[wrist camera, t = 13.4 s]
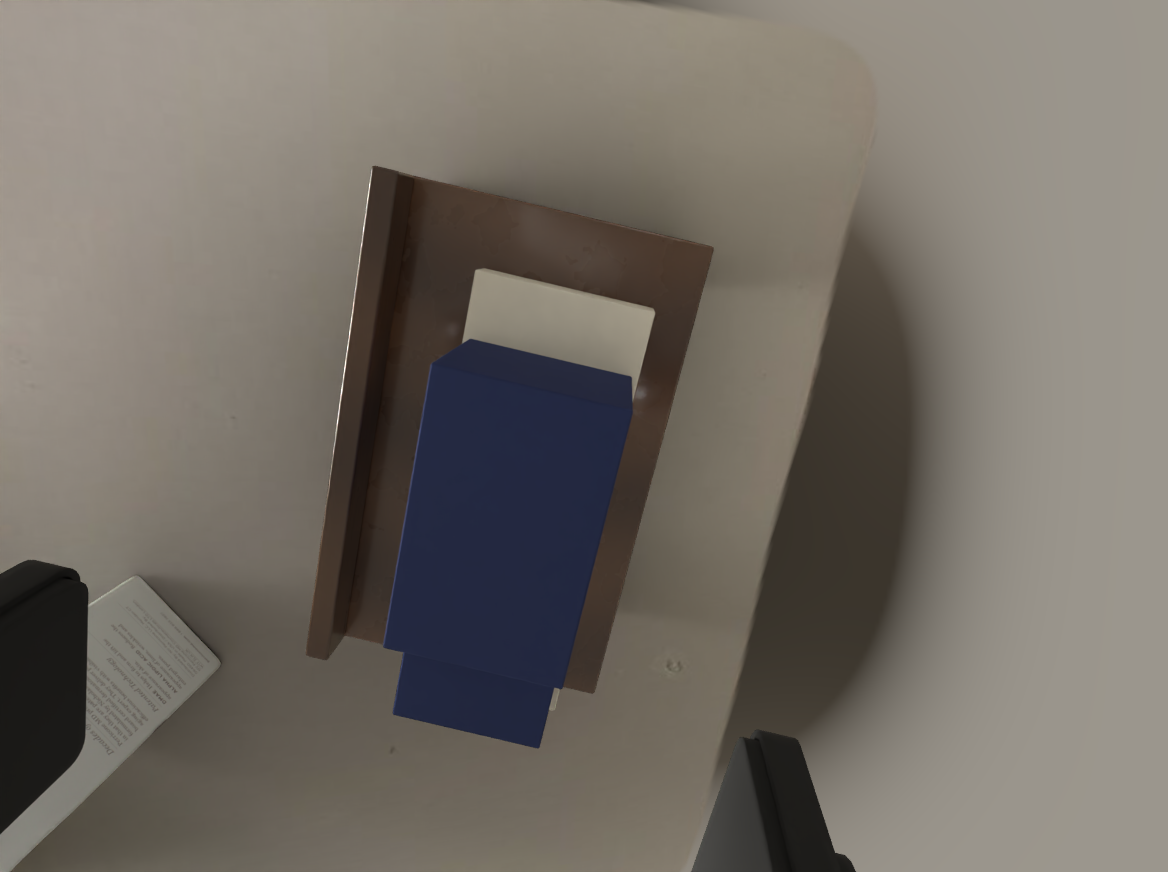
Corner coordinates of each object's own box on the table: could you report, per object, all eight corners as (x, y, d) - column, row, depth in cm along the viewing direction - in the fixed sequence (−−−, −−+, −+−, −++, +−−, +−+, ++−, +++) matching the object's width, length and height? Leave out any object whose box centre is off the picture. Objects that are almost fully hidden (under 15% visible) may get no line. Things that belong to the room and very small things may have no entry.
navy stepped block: (483, 267, 22) (435, 277, 17) (653, 308, 22) (662, 330, 17) (412, 656, 26) (355, 766, 20) (557, 690, 26) (539, 809, 20)
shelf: (440, 184, 27) (370, 164, 20) (696, 245, 27) (721, 248, 20) (379, 559, 31) (303, 656, 24) (600, 611, 31) (591, 723, 24)
